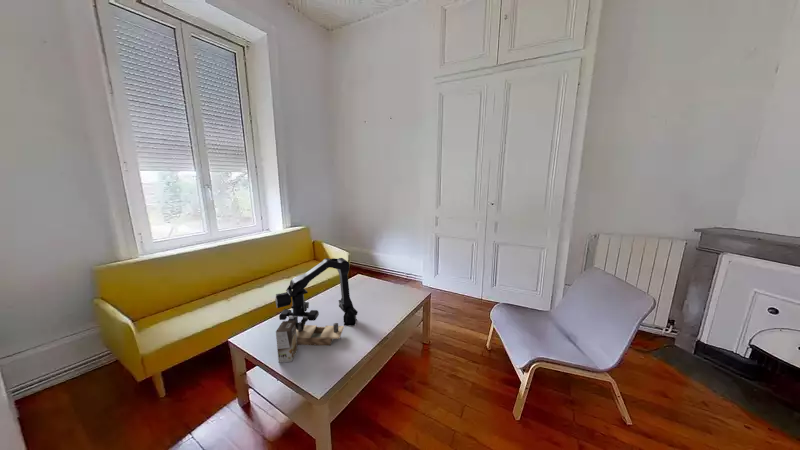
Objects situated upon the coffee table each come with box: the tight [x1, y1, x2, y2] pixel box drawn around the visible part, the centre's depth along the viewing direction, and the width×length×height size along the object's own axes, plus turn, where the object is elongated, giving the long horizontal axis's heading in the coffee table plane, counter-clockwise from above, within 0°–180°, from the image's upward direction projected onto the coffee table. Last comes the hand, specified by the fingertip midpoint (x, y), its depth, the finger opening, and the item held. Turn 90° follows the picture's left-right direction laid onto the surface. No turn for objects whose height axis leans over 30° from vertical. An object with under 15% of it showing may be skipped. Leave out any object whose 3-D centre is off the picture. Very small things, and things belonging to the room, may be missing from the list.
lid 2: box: [320, 322, 345, 340], centre depth 139 cm, size 10×10×5 cm
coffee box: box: [275, 320, 299, 363], centre depth 126 cm, size 9×6×16 cm
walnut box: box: [297, 326, 334, 347], centre depth 140 cm, size 20×10×4 cm, turn 89°
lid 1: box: [296, 321, 318, 338], centre depth 139 cm, size 10×10×5 cm
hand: (300, 329), depth 139 cm, fingers closed on lid 1, 2 cm apart
